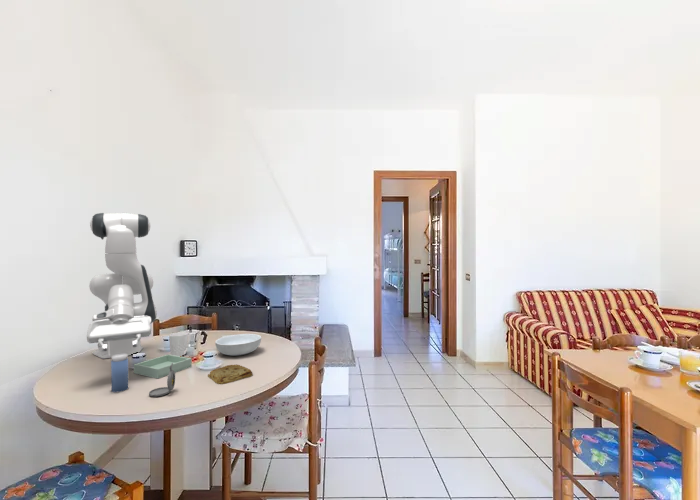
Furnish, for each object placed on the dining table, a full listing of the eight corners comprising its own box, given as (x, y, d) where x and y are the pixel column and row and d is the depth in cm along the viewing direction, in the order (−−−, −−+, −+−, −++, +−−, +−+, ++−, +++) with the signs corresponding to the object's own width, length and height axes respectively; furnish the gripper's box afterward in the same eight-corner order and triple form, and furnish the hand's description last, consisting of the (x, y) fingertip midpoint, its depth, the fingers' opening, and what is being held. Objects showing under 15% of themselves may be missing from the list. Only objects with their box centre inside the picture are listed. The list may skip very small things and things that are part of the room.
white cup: (180, 358, 159) (180, 336, 159) (165, 357, 160) (165, 335, 160) (191, 353, 166) (191, 332, 166) (177, 352, 168) (177, 331, 168)
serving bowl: (228, 346, 177) (228, 333, 177) (267, 347, 174) (267, 333, 174) (206, 359, 156) (206, 343, 156) (250, 360, 153) (250, 344, 153)
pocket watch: (146, 394, 117) (145, 364, 117) (172, 386, 124) (171, 358, 124) (154, 400, 112) (154, 369, 112) (181, 392, 118) (181, 363, 118)
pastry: (218, 369, 143) (217, 362, 143) (259, 369, 142) (259, 362, 142) (197, 385, 126) (197, 377, 126) (244, 385, 125) (243, 377, 125)
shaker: (108, 390, 121) (107, 356, 121) (123, 385, 125) (122, 352, 126) (116, 393, 119) (116, 358, 119) (131, 387, 123) (131, 354, 123)
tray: (133, 373, 139) (133, 364, 139) (168, 362, 152) (168, 354, 152) (158, 378, 132) (157, 369, 132) (191, 366, 146) (191, 358, 146)
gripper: (151, 319, 143) (152, 348, 134) (89, 325, 132) (86, 357, 123) (151, 310, 139) (152, 339, 130) (87, 315, 128) (84, 347, 120)
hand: (120, 348), depth 127 cm, fingers open, 8 cm apart
